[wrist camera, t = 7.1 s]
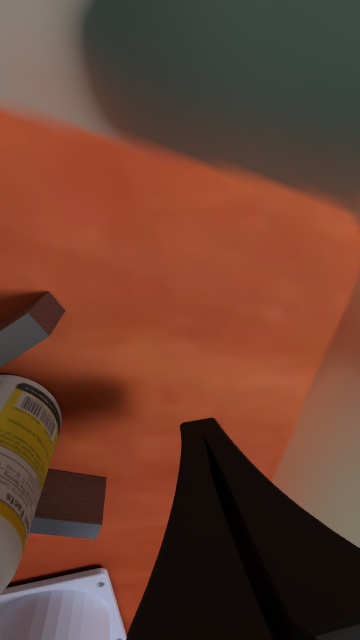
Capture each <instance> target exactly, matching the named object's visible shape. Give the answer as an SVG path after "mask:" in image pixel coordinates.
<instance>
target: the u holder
mask: <svg viewBox="0 0 360 640" xmlns="http://www.w3.org/2000/svg"><path fill="white" fill-rule="evenodd" d="M64 312H65V310H64V309H63V307H62V306H61V305H60V304H59V303H58V302H57V300H56V299H55V298H54V297H53V296H52V295H51V293H50V292H47V293H46V294H44V295H43V296H41V297H39V298H38V299H36V300H35V301H33V302H32V303H30V304H29V305H27V306H26V307H24V308H23V309H21V310H20V311H18V312H17V313H15V314H14V315H12V316H11V317H9V318H8V319H6V320H5V321H3V322H2V323H0V368H1V367H2V366H4V365H5V364H7V363H8V362H10V361H11V360H13V359H15V358H16V357H18V356H19V355H21V354H22V353H24V352H25V351H27V350H29V349H30V348H32V347H33V346H35V345H36V344H38V343H39V342H41V341H43V340H44V339H46V338H47V337H49V336H50V334H51V333H52V331H53V330H54V328H55V326H56V325H57V323H58V322H59V320H60V318H61V317H62V315H63V314H64ZM106 479H107V478H102V477H96V476H90V475H83V474H77V473H70V472H64V471H57V470H51V469H48V471H47V475H46V478H45V481H44V485H43V488H42V491H41V495H40V498H39V501H38V504H37V508H36V511H35V514H34V518H33V521H32V524H31V527H30V531H29V533H37V534H47V535H58V536H68V537H78V538H89V539H96V538H97V535H98V533H99V531H100V528H101V526H102V520H103V509H104V499H105V489H106Z"/></svg>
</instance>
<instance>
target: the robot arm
mask: <svg viewBox="0 0 360 640" xmlns="http://www.w3.org/2000/svg"><path fill="white" fill-rule="evenodd" d="M180 431H181V441H182V444H181V458H180V467H179V474H178V480H177V485H176V491H175V496H174V500H173V505H172V509H171V513H170V517H169V521H168V524H167V528H166V531H165V535H164V538H163V541H162V545H161V548H160V551H159V554H158V557H157V560H156V562H155V565H154V568H153V571H152V573H151V576H150V579H149V582H148V585H147V587H146V590H145V592H144V595H143V597H142V600H141V602H140V605H139V607H138V609H137V612H136V614H135V617H134V619H133V621H132V624H131V626H130V629H129V631H128V634H127V636H126V633H125V629H124V626H123V623H122V619H121V616H120V612H119V609H118V606H117V602H116V599H115V595H114V592H113V589H112V585H111V582H110V578H109V575H108V572H107V570H106V569H104V568H97V569H92V570H88V571H83V572H78V573H74V574H69V575H65V576H60V577H55V578H51V579H46V580H41V581H37V582H32V583H28V584H23V585H18V586H14V587H9V588H5V589H4V590H3V592H2V593H1V594H0V640H360V548H359V547H357V546H355V545H353V544H352V543H351V542H349V541H348V540H346V539H345V538H343V537H341V536H340V535H339V534H337V533H336V532H334V531H333V530H331V529H330V528H328V527H327V526H326V525H324V524H323V523H322V522H320V521H319V520H318V519H316V518H315V517H313V516H312V515H311V514H309V513H308V512H307V511H305V510H304V509H303V508H301V507H300V506H299V505H298V504H296V503H295V502H294V501H293V500H291V499H290V498H289V497H288V496H287V495H285V494H284V493H283V492H282V491H281V490H279V488H277V487H276V486H275V485H274V484H273V483H272V482H271V481H270V480H269V479H268V478H266V477H265V476H264V475H263V474H262V473H261V472H260V471H259V470H258V469H257V468H256V467H255V466H254V465H253V464H252V463H251V462H250V460H249V459H248V458H247V457H246V456H245V455H244V454H243V453H242V452H241V451H240V450H239V448H238V447H237V446H236V445H235V444H234V443H233V441H232V440H231V439H230V438H229V437H228V435H227V434H226V433H225V432H224V430H223V429H222V428H221V426H220V425H219V424H218V422H217V421H216V419H214V418H207V419H202V420H196V421H190V422H184V423H182V424H181V425H180Z"/></svg>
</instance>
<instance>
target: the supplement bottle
mask: <svg viewBox="0 0 360 640" xmlns="http://www.w3.org/2000/svg"><path fill="white" fill-rule="evenodd" d="M60 428H61V412H60V408H59V405H58V403H57V402H56V400H55V398H54V397H53V396H52V394H51V393H50V392H49V391H48V390H46V389H45V388H44V387H43V386H41V385H40V384H38V383H36V382H34V381H32V380H29V379H27V378H23V377H20V376H14V375H0V594H1V593H2V592H3V590H4V589H5V588H6V587H7V585H8V584H9V583H10V581H11V579H12V578H13V576H14V574H15V572H16V570H17V568H18V565H19V563H20V560H21V557H22V554H23V551H24V547H25V544H26V541H27V537H28V534H29V531H30V527H31V524H32V521H33V518H34V514H35V511H36V508H37V504H38V501H39V498H40V495H41V491H42V488H43V485H44V481H45V478H46V475H47V471H48V468H49V465H50V462H51V458H52V455H53V452H54V448H55V445H56V442H57V438H58V436H59V432H60Z"/></svg>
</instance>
